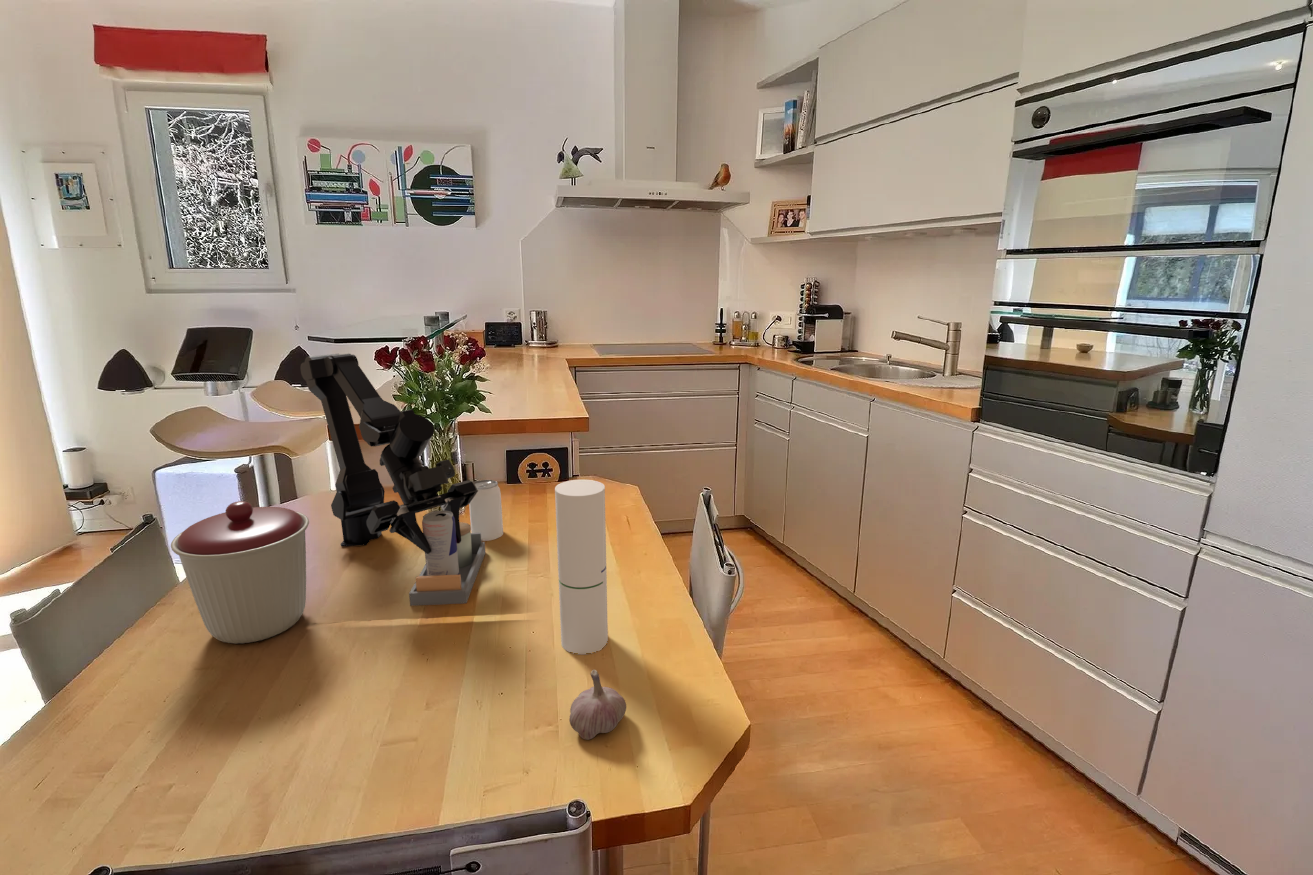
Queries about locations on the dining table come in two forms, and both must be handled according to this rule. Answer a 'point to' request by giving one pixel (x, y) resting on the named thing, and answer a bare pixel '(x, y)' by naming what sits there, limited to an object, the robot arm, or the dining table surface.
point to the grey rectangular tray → (467, 580)
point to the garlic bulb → (596, 710)
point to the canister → (246, 570)
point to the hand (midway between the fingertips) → (444, 547)
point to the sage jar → (465, 546)
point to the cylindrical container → (582, 565)
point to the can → (486, 510)
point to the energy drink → (441, 543)
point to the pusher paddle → (438, 583)
